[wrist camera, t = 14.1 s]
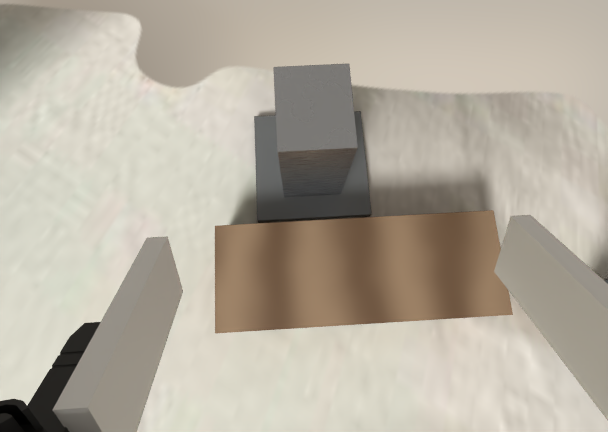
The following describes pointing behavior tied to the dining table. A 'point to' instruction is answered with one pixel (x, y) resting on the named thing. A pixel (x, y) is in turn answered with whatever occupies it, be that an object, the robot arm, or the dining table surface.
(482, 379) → the dining table surface
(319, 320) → the body
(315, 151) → the grey rectangular block
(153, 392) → the dining table surface
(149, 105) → the dining table surface
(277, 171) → the rubber pad
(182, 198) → the dining table surface
